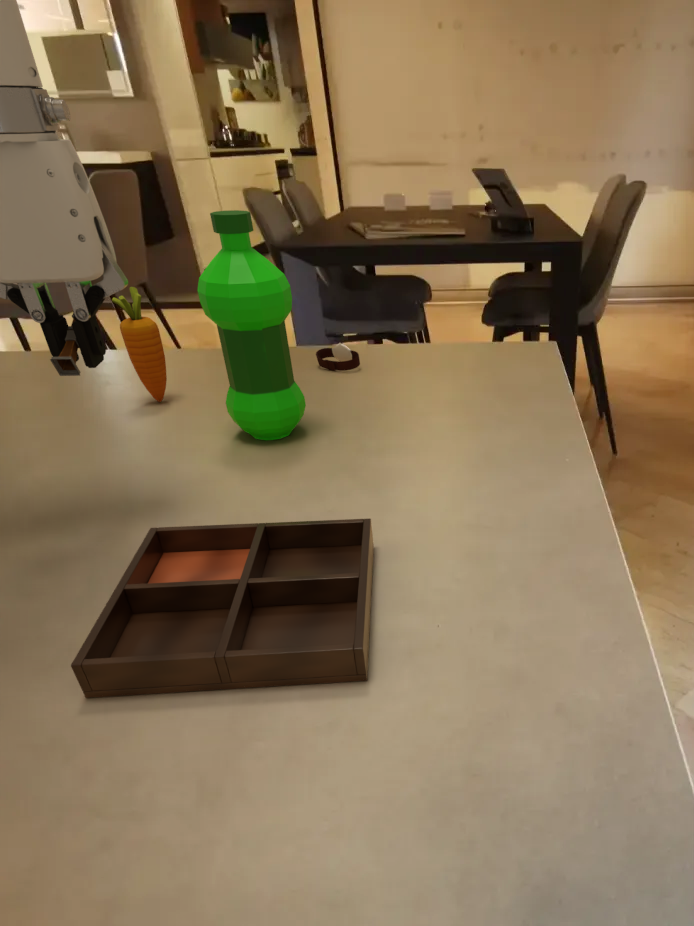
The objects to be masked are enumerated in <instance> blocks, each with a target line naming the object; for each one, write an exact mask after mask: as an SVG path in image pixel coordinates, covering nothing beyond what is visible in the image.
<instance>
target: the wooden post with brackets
mask: <svg viewBox="0 0 694 926" xmlns="http://www.w3.org/2000/svg"><path fill="white" fill-rule="evenodd" d="M71 318H72V321H71V324H70V325H68V330H67V335H66V338H65V341H66V344H65V346H64V348H63V350H62V352H61V353H60V355H59V356H58V357H53V356H51V358H49V360H50V362H51V364H52V366H53V367H54V369H55V371H56V372H57V374H58V375H59V376H60V377H81V372H82V371H81V370H80V368H79V367H78V365H77V362H76V357H77V353H78V350H79V349H80V348H79V345H78V342H77V339H76V336H75V333H74V331H73V328H72V323H73V322H74V321H75V317H74V311H73V310H72V315H71Z"/></svg>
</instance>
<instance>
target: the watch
mask: <svg viewBox="0 0 694 926" xmlns="http://www.w3.org/2000/svg"><path fill="white" fill-rule="evenodd" d="M315 357H316V359H317V363H318V366H319V367H321V368H322V369H325V370H328V371H333V372H335V371H340V372H342V371H343V372H345V371H352V370H354V369H357V368H358V367H359V366H360V365H361V361H360V354H359V352H358V351H356V350H352V349H350V348H349V347H348V346H347V345H346V344H345V343H341V342H339V343H337V344H335V346H334V347H324V348H323V347H322V348H320V349H318V350H317V351H316V352H315ZM328 358H334V359H336V360H329V359H328Z"/></svg>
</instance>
